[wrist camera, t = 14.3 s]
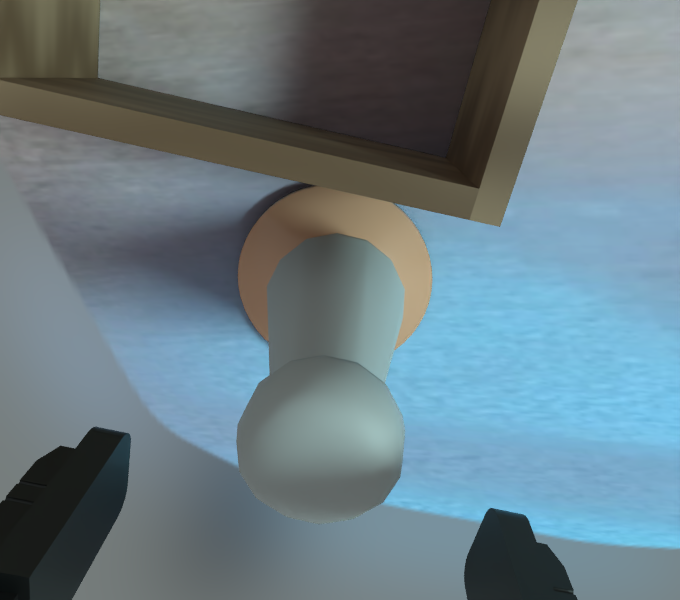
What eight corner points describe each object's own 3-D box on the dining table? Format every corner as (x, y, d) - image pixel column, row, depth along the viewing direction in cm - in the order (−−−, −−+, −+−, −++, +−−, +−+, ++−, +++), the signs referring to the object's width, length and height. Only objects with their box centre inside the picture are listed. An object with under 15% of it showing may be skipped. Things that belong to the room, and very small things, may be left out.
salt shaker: (292, 346, 26) (232, 577, 14) (260, 235, 24) (158, 393, 12) (410, 325, 25) (456, 548, 13) (389, 208, 23) (420, 348, 11)
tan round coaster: (255, 163, 23) (253, 165, 23) (454, 207, 24) (457, 210, 23) (228, 342, 27) (226, 347, 26) (403, 377, 27) (403, 384, 26)
